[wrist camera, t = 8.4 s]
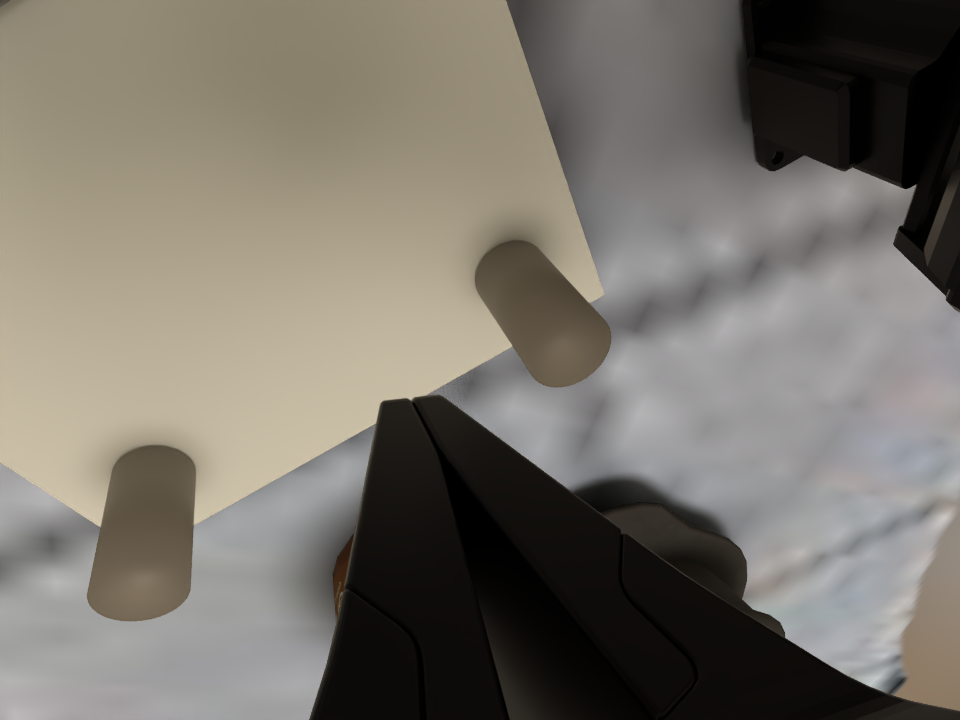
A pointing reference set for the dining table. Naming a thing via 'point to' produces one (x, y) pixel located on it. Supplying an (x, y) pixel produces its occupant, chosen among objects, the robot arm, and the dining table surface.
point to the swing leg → (3, 2)
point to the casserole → (691, 553)
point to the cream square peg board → (260, 247)
